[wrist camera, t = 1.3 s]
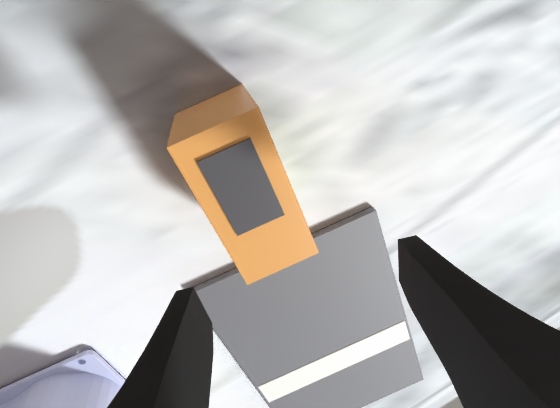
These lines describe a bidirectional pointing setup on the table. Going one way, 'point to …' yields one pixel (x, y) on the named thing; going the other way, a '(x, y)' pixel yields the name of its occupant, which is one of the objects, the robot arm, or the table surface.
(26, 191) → the table surface
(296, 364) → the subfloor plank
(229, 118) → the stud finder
